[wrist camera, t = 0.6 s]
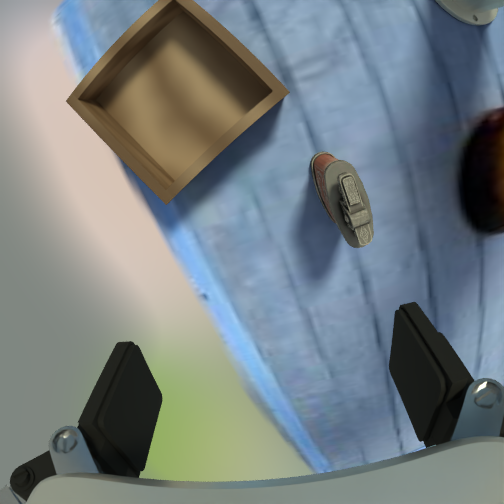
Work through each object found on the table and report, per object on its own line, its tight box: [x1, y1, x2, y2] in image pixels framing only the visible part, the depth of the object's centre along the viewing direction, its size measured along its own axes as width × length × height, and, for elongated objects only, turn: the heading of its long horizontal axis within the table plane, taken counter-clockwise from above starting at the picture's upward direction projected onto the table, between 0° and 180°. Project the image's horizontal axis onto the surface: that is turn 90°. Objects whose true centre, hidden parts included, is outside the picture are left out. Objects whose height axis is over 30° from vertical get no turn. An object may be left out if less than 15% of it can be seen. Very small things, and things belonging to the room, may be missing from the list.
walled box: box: [66, 0, 290, 205], centre depth 27 cm, size 15×15×5 cm
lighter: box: [310, 152, 374, 248], centre depth 29 cm, size 8×3×10 cm, turn 23°
